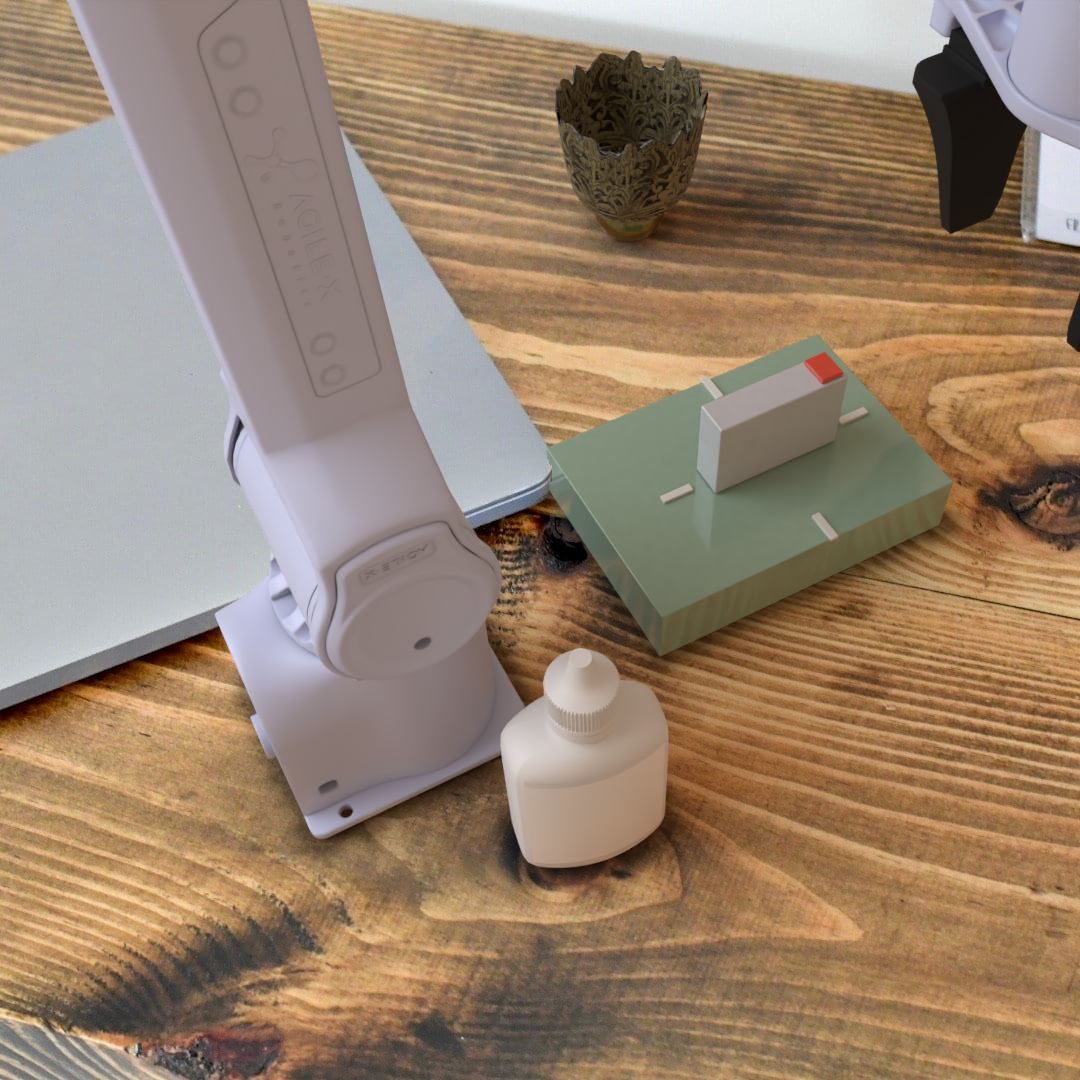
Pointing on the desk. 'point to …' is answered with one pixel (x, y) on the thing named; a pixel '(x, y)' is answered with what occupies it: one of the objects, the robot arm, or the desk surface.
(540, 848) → the eye dropper bottle
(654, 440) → the plate
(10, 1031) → the desk surface
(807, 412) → the tap handle
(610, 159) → the cup
